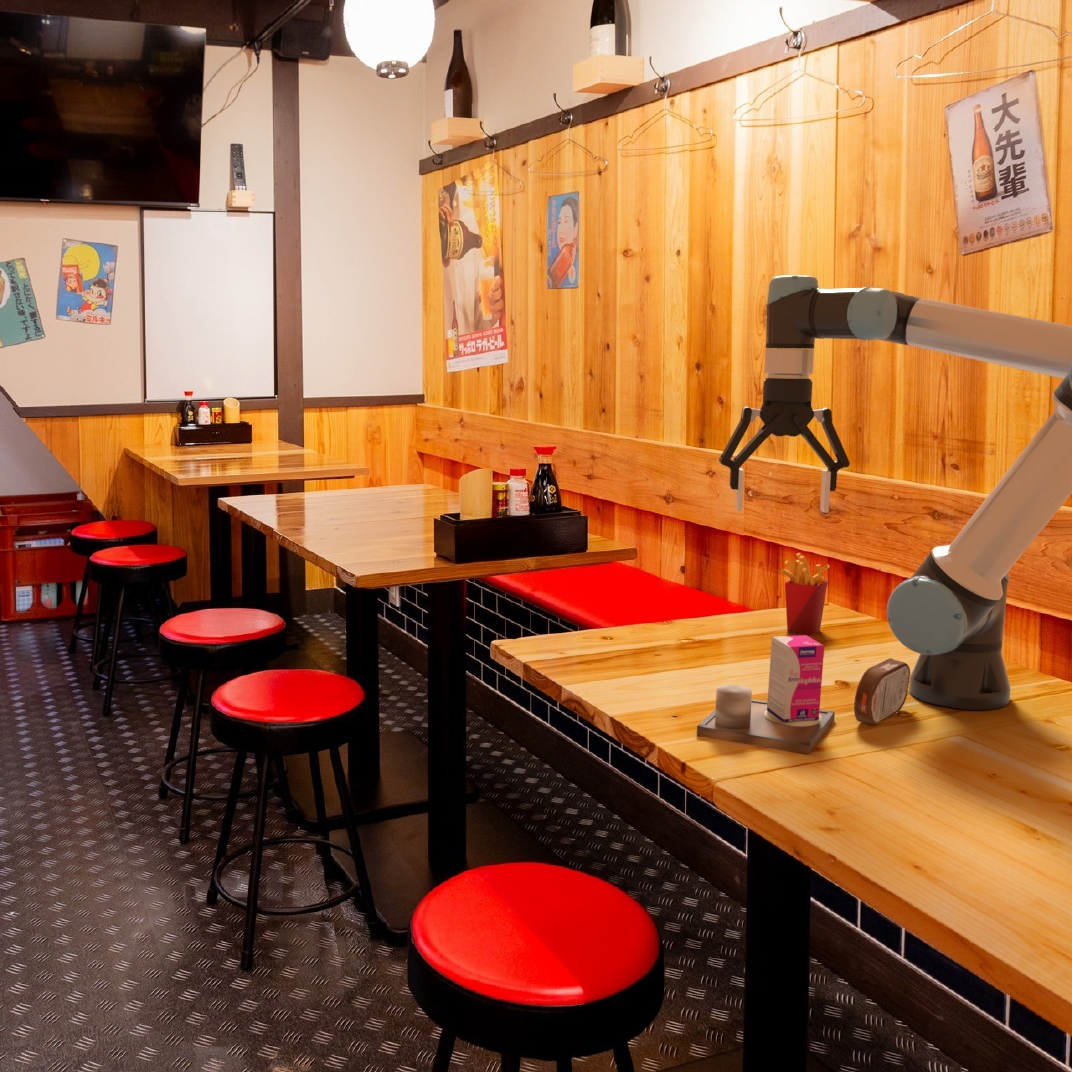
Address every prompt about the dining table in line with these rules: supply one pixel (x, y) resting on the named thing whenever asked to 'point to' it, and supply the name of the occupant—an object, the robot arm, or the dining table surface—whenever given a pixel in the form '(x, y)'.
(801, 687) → the supplement box
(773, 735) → the board
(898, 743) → the dining table surface
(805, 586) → the french fries
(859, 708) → the tin
